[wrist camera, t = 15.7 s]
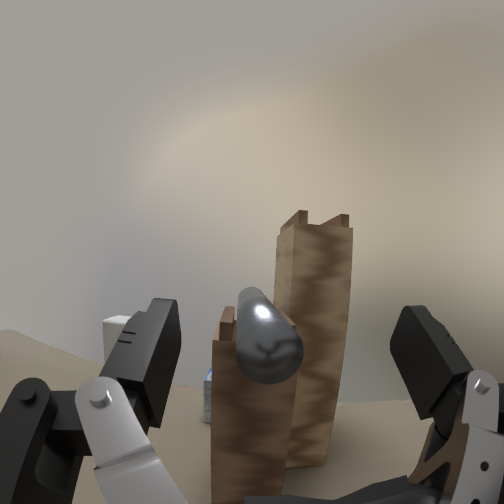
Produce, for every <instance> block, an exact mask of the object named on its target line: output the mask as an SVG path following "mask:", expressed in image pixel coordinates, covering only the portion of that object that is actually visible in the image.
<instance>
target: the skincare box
mask: <svg viewBox="0 0 504 504" xmlns="http://www.w3.org/2000/svg"><path fill="white" fill-rule="evenodd" d="M130 318H131V317H128V316H120V315H118V316H115V317H110V318H109V319H105V320H103V341H104V358H105V363H106V361H107V359H108V357H109V355H110V353H111V351H112V349H113V347H114V345H115V343H116V342H117V339H118V337H119V335H120V334H121V333H122V330H123V328H124V326H125V324H126V322H127V321H128V319H130Z"/></svg>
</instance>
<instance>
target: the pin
mask: <svg viewBox="0 0 504 504" xmlns="http://www.w3.org/2000/svg"><path fill="white" fill-rule="evenodd" d="M303 356H304V346H303V342H302V340H301V338H300V336H299V334H298V333H297V332H296V331H295V329H294V328H293V327H292V326H291V325H290V324H289V323H288V321H287V320H286V319H285V318H284V317H283V316H282V315H281V313H280V312H279V311H278V310H277V309H276V308H275V306H274V305H273V304H272V303H271V302H270V301H269V300H268V298H267V297H266V296H265V295H264V294H263V293H262V292H261V290H259V289H258V288H255V287H248V288H245V289H244V290H242V291H241V293H240V294H239V297H238V309H237V330H236V361H237V365H238V367H239V369H240V370H241V372H242V373H243V374H244V375H245V376H246V377H247V378H249V379H250V380H252V381H254V382H257V383H260V384H267V385H268V384H277V383H280V382H283V381H285V380H287V379H288V378H290V377H291V376H292V375H294V374H295V372H296V371H297V370H298V369H299V367H300V365H301V363H302V360H303Z"/></svg>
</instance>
